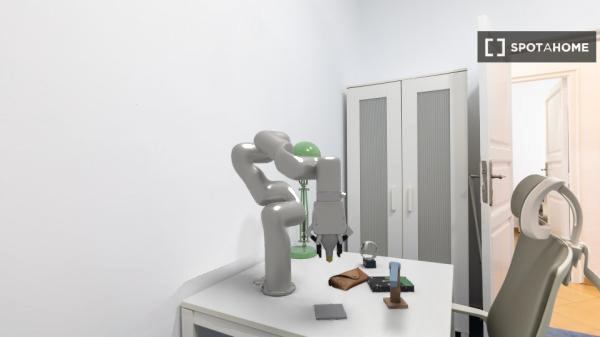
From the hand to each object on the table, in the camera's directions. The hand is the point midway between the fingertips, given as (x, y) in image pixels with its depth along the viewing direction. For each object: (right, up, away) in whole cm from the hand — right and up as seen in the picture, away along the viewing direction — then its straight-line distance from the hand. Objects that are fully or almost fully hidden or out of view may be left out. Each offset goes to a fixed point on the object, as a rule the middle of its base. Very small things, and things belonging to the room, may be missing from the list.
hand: (329, 255), depth 96 cm
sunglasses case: (+11, -18, +24) cm, 32 cm away
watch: (+22, -17, +42) cm, 50 cm away
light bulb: (0, -2, 0) cm, 2 cm away
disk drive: (+24, -17, +19) cm, 35 cm away
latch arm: (+19, -5, -2) cm, 20 cm away
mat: (0, -17, 0) cm, 17 cm away
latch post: (+22, -17, +4) cm, 28 cm away
